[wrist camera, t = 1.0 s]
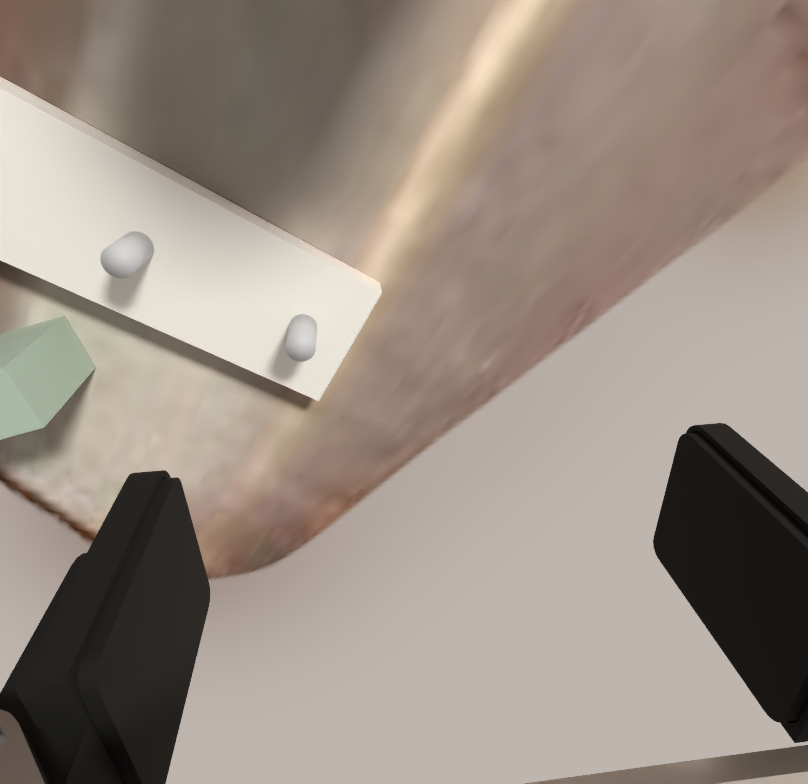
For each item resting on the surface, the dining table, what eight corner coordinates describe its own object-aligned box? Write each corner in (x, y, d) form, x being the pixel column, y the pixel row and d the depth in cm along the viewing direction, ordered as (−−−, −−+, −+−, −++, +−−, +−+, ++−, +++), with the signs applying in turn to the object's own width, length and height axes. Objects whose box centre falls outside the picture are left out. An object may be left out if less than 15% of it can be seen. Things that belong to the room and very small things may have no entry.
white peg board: (-126, 185, 28) (-210, 202, 24) (-97, 24, 25) (-188, 9, 21) (319, 386, 36) (317, 426, 32) (379, 282, 33) (386, 310, 29)
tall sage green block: (5, 395, 34) (-66, 460, 28) (-32, 343, 32) (-117, 401, 26) (97, 369, 34) (46, 429, 28) (65, 315, 32) (3, 367, 26)
